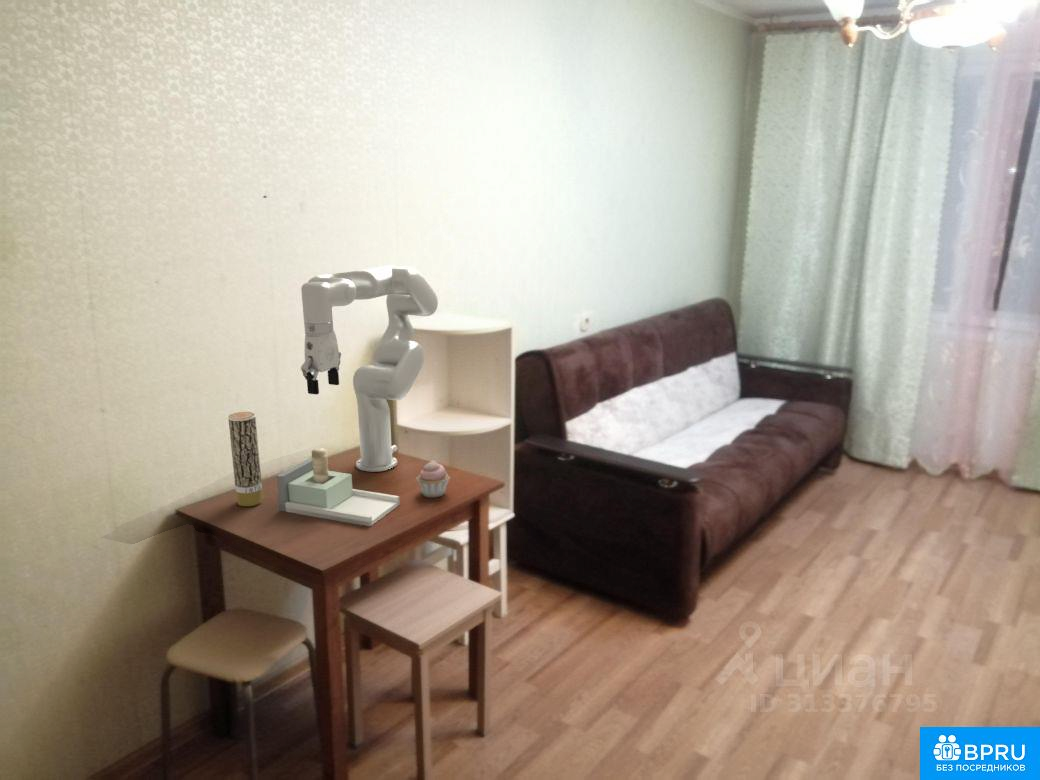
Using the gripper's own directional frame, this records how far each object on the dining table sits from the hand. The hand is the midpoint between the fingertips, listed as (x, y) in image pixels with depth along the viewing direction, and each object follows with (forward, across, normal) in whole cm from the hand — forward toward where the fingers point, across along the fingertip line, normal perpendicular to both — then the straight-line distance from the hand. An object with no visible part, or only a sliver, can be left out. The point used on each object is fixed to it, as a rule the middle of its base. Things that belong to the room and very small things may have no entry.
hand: (323, 389), depth 216 cm
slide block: (+28, -11, -4) cm, 30 cm away
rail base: (+30, -11, -10) cm, 33 cm away
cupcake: (+30, +7, -29) cm, 42 cm away
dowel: (+26, -10, -4) cm, 28 cm away
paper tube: (+30, -16, +16) cm, 37 cm away
